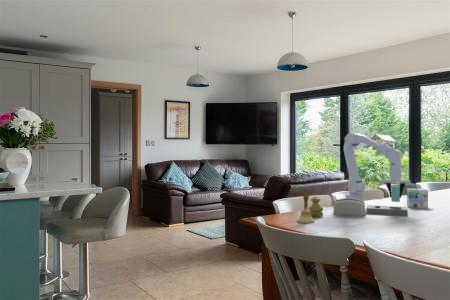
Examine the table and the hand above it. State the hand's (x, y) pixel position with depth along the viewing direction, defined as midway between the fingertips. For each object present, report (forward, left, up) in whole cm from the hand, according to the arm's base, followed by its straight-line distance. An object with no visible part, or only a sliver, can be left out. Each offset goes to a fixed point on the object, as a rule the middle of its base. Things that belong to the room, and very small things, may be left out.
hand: (395, 197), depth 203 cm
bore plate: (-5, 0, -9) cm, 10 cm away
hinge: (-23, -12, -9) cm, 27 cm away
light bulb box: (+12, +29, -9) cm, 33 cm away
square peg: (0, 0, -2) cm, 2 cm away
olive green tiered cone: (-39, -23, -9) cm, 46 cm away
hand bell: (-41, -39, -9) cm, 57 cm away
